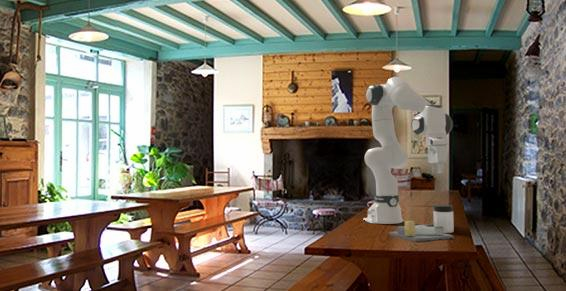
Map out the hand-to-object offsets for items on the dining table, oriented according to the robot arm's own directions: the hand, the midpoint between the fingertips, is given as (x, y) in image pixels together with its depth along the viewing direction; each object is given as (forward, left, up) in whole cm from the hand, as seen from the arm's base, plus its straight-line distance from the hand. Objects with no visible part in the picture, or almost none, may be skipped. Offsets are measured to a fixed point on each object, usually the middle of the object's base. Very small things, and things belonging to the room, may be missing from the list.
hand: (437, 173), depth 237 cm
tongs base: (-6, -7, -26) cm, 28 cm away
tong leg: (0, -5, -26) cm, 26 cm away
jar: (-11, +11, -28) cm, 32 cm away
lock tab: (-1, -14, -26) cm, 29 cm away
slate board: (-4, -6, -27) cm, 28 cm away
